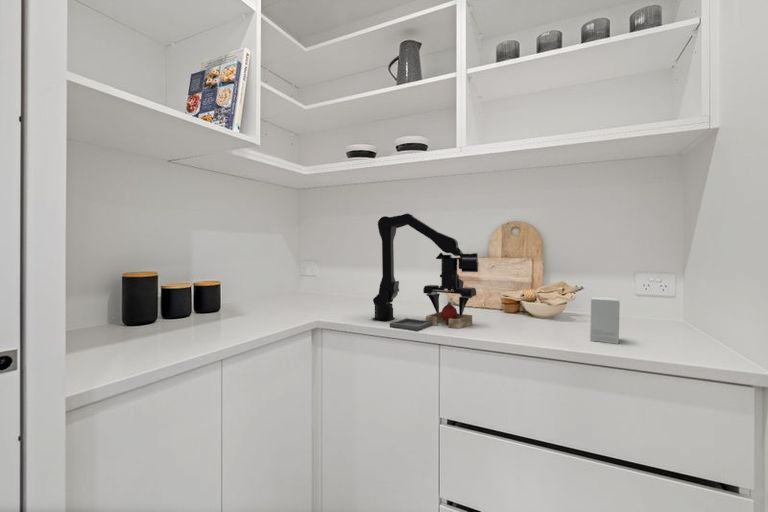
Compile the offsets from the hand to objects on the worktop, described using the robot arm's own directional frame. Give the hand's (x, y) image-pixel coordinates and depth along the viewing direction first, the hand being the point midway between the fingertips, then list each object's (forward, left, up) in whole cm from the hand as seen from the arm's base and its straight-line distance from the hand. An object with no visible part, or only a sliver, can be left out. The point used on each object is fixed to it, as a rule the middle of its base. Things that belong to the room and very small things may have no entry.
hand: (449, 314), depth 134 cm
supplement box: (+49, +5, -4) cm, 49 cm away
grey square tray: (-9, -12, -4) cm, 15 cm away
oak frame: (0, 0, -4) cm, 4 cm away
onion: (0, 0, -4) cm, 4 cm away
